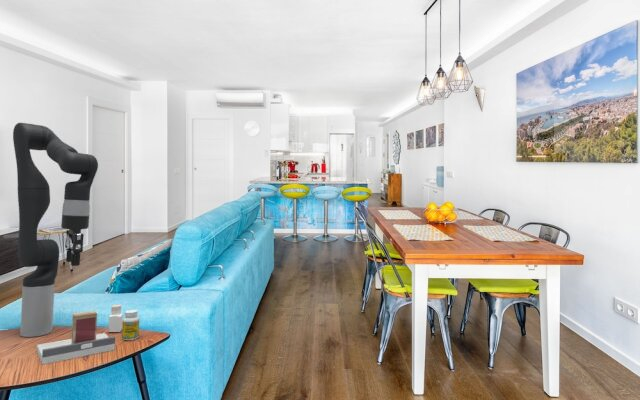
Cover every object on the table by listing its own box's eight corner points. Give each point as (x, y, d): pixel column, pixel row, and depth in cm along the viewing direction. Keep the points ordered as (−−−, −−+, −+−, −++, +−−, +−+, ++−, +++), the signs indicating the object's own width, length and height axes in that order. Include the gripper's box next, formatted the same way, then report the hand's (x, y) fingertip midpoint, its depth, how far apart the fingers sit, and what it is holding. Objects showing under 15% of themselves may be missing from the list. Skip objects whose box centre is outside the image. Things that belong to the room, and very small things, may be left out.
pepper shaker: (120, 332, 139) (121, 306, 139) (107, 333, 138) (109, 307, 138) (122, 329, 143) (123, 304, 143) (110, 330, 142) (111, 304, 142)
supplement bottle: (137, 335, 137) (138, 308, 137) (139, 339, 133) (141, 312, 133) (120, 337, 134) (122, 310, 135) (122, 342, 130) (123, 314, 130)
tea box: (71, 345, 120) (72, 313, 120) (92, 341, 124) (94, 310, 124) (73, 349, 117) (75, 316, 117) (95, 345, 121) (97, 313, 121)
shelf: (36, 351, 120) (37, 338, 120) (104, 338, 133) (104, 327, 133) (42, 364, 110) (43, 350, 110) (114, 350, 123) (115, 337, 123)
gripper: (94, 215, 122) (90, 266, 121) (84, 213, 132) (81, 259, 132) (66, 215, 117) (62, 268, 116) (58, 212, 127) (55, 261, 127)
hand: (72, 263), depth 124 cm, fingers open, 8 cm apart
